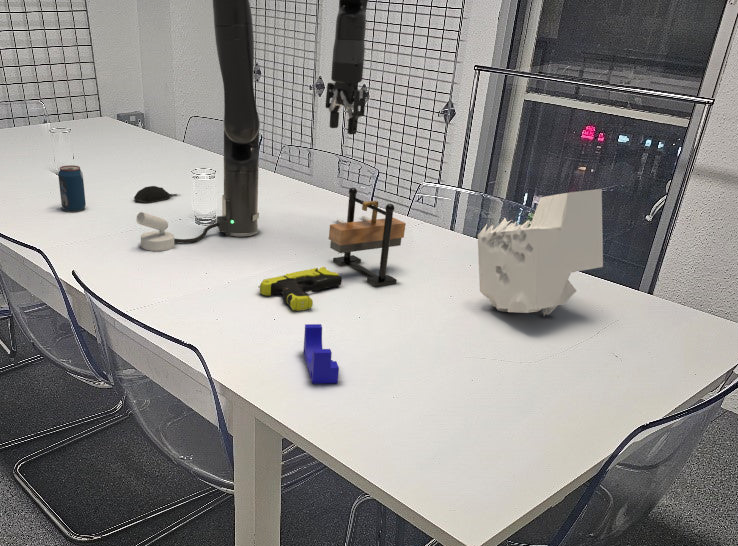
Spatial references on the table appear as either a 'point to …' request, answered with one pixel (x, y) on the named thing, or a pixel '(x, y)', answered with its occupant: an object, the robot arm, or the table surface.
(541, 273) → the jagged cream rock lump
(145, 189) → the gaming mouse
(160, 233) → the white spotlight lamp
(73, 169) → the soda can
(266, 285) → the stun gun
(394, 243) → the scrub brush
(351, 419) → the table surface
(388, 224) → the black hurdle stand
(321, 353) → the blue stepped block
